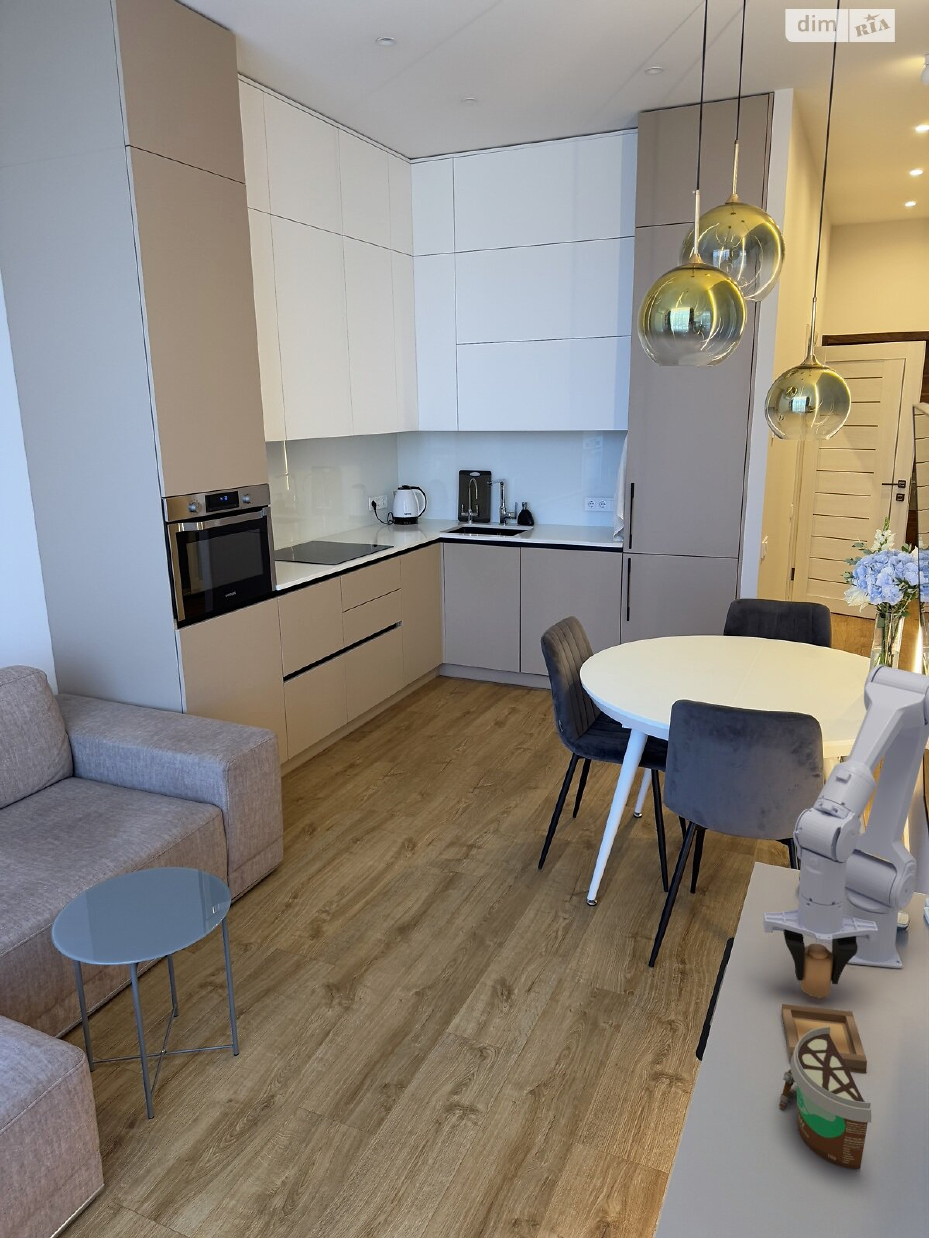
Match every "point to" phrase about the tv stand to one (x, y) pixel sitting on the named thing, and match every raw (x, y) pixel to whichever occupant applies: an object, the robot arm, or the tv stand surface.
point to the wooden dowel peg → (817, 970)
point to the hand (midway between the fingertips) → (816, 977)
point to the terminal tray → (841, 1031)
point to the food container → (828, 1101)
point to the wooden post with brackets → (787, 1090)
